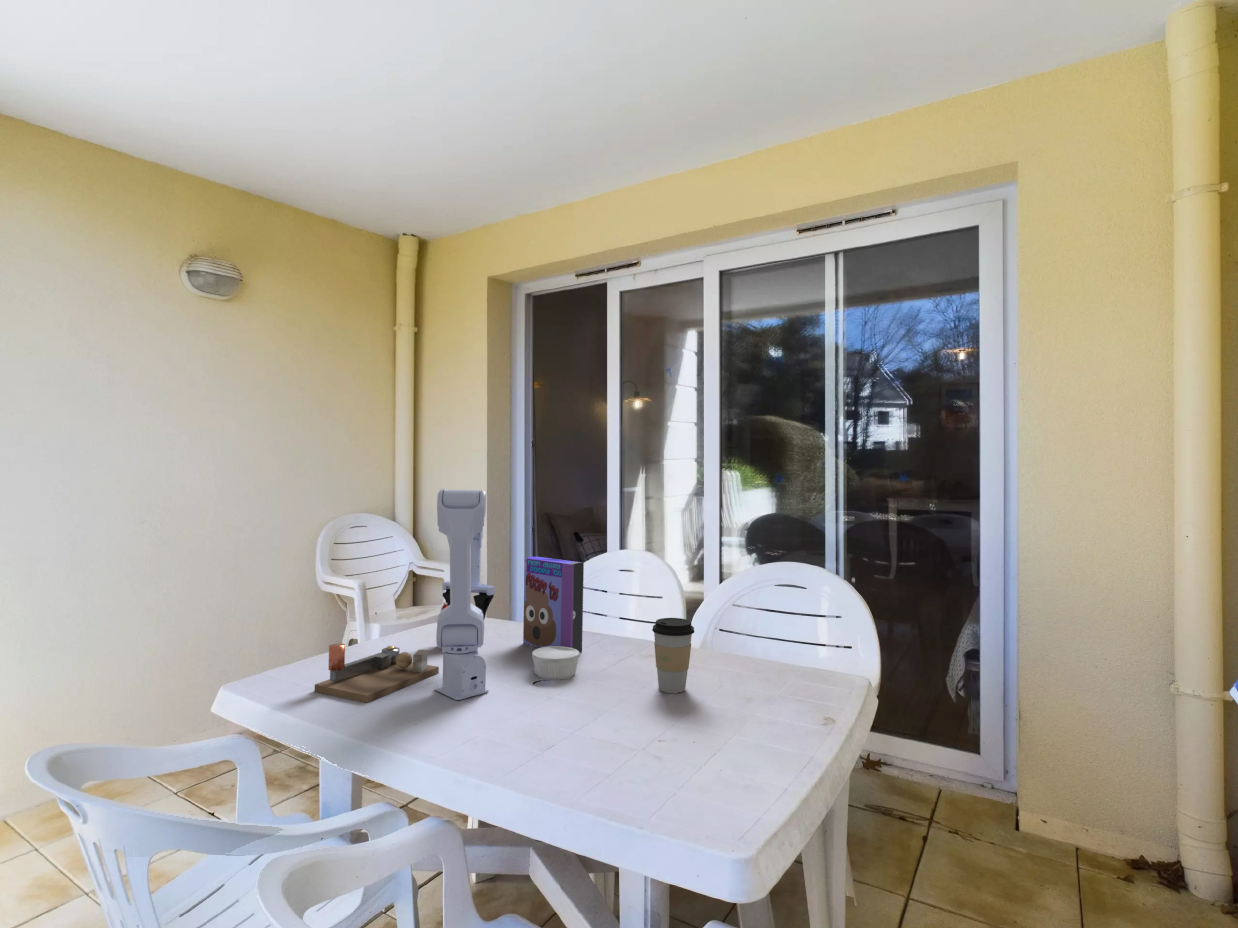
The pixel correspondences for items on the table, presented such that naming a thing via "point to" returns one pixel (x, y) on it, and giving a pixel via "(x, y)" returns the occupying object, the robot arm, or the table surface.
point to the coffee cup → (672, 652)
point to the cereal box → (553, 603)
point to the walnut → (404, 660)
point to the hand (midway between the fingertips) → (467, 621)
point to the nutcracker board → (379, 680)
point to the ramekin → (555, 662)
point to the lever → (357, 661)
